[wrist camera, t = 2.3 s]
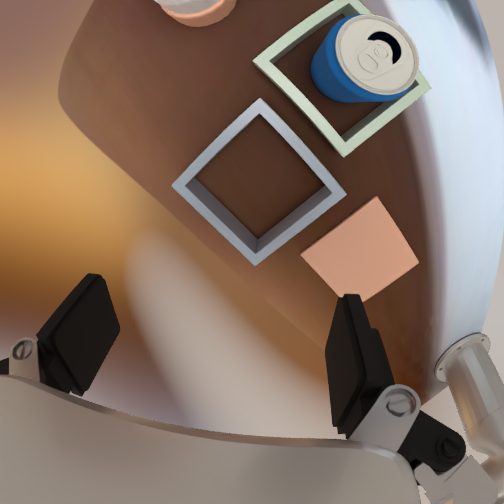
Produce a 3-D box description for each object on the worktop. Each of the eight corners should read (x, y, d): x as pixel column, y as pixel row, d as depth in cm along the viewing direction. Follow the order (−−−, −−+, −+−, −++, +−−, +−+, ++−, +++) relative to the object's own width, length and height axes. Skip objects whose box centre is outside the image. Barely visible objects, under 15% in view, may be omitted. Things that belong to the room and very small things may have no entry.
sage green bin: (416, 88, 23) (431, 88, 20) (336, 151, 27) (343, 157, 24) (341, 2, 19) (348, -9, 16) (255, 66, 24) (252, 60, 21)
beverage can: (383, 75, 23) (441, 63, 12) (344, 115, 25) (384, 122, 15) (336, 32, 21) (369, -8, 11) (296, 72, 24) (306, 49, 13)
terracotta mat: (417, 260, 32) (419, 262, 32) (350, 307, 36) (351, 309, 36) (375, 195, 29) (376, 196, 29) (300, 253, 33) (300, 254, 33)
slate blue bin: (339, 184, 29) (346, 194, 26) (257, 250, 34) (255, 266, 31) (262, 98, 26) (259, 97, 22) (182, 177, 30) (171, 185, 27)
